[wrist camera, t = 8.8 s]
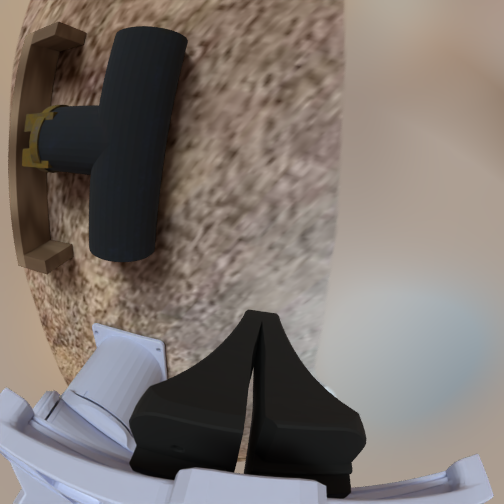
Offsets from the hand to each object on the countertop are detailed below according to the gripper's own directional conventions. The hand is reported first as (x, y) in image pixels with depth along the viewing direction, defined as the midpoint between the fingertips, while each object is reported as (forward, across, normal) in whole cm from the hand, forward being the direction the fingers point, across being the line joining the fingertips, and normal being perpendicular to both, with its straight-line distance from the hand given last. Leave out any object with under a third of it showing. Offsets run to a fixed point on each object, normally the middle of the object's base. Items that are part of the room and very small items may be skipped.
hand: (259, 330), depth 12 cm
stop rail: (+9, +20, -7) cm, 23 cm away
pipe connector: (+10, +13, -7) cm, 18 cm away
